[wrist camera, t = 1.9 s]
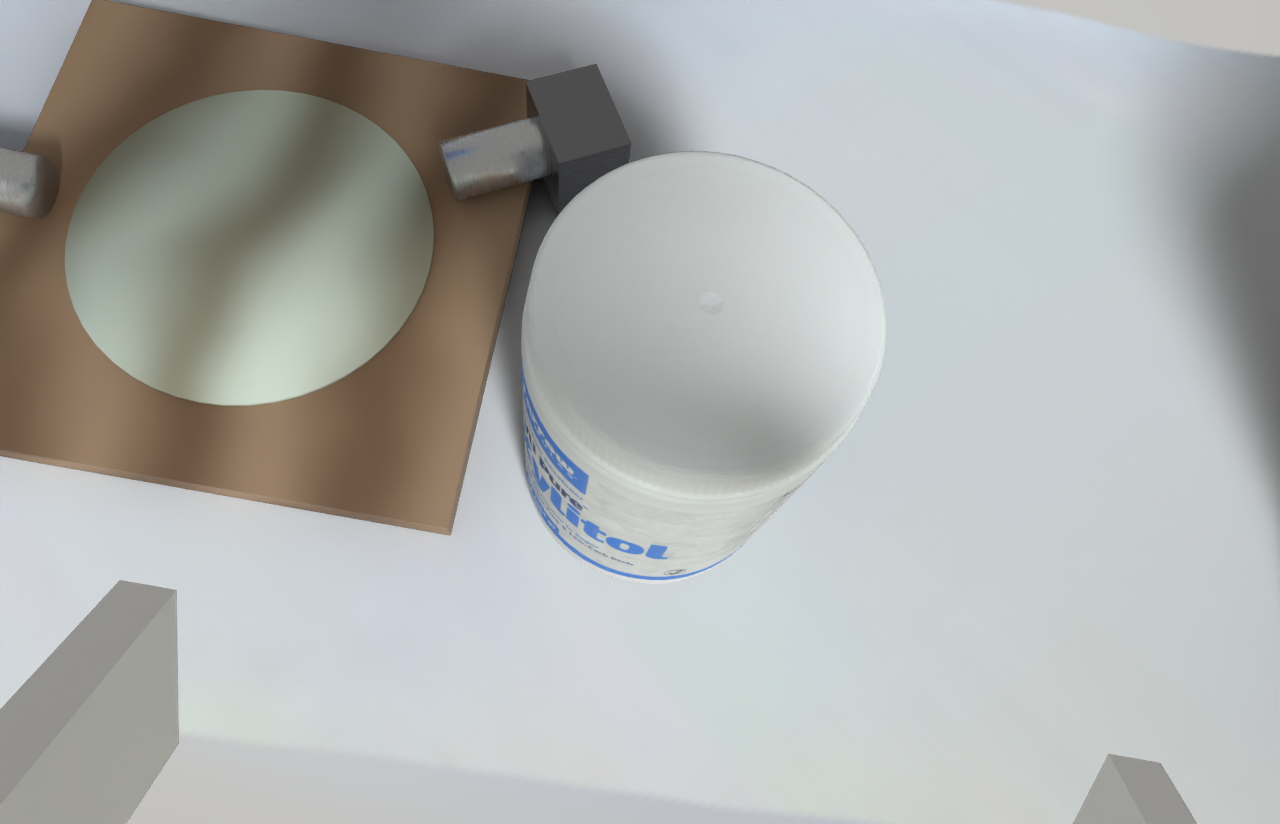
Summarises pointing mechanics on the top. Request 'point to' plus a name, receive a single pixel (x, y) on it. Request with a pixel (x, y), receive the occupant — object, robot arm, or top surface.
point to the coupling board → (257, 269)
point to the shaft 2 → (544, 141)
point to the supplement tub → (690, 359)
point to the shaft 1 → (26, 184)
